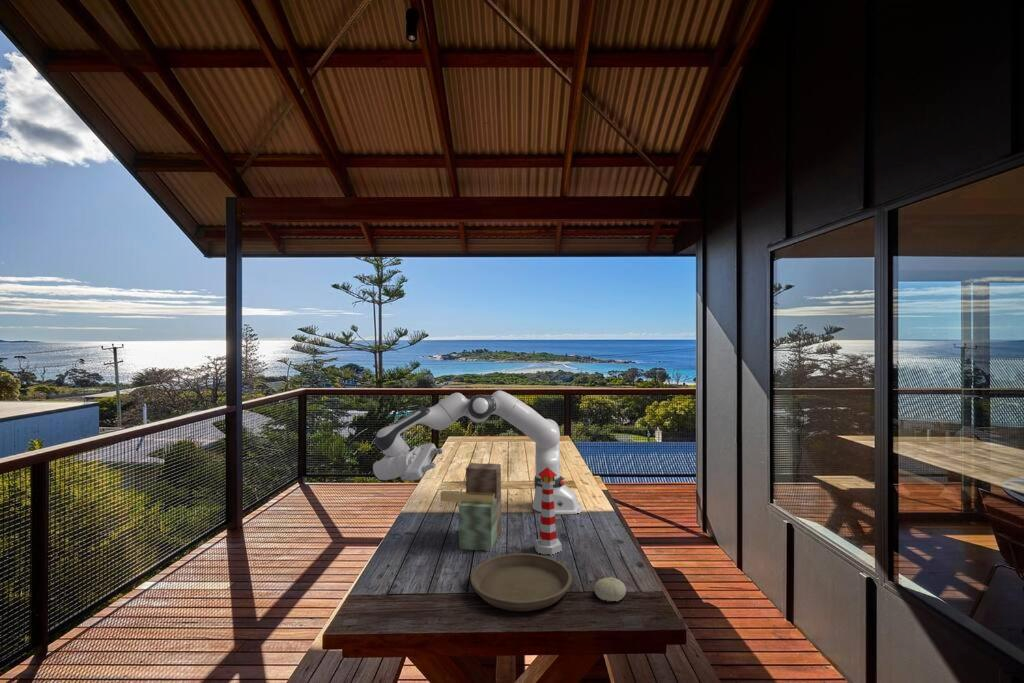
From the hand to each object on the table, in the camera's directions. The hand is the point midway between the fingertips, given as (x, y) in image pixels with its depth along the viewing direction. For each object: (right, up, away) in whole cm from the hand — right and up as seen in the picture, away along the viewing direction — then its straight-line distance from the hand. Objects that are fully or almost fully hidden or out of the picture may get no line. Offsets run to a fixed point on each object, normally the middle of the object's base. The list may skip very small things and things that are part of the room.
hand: (438, 457), depth 207 cm
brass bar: (+13, -13, -15) cm, 23 cm away
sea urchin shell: (+59, -30, -53) cm, 85 cm away
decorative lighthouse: (+43, -29, -20) cm, 55 cm away
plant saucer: (+32, -30, -48) cm, 65 cm away
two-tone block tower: (+18, -29, -11) cm, 36 cm away
